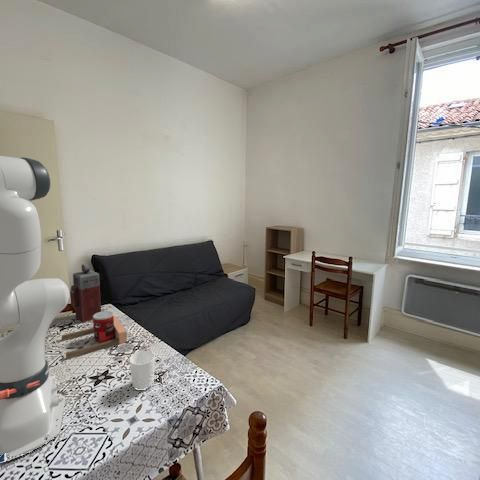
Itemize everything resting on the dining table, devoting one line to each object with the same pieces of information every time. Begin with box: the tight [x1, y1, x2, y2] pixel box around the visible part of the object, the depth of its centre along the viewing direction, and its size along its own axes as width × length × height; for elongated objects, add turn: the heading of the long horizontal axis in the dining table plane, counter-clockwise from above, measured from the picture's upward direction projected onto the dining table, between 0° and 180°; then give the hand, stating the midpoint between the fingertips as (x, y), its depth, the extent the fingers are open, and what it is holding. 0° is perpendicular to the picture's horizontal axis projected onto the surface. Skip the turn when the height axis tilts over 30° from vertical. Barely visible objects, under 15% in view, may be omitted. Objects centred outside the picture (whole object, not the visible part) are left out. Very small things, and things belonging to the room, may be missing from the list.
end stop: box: [113, 315, 128, 345], centre depth 122 cm, size 18×3×5 cm, turn 38°
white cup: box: [129, 350, 156, 389], centre depth 90 cm, size 8×8×10 cm
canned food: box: [92, 310, 115, 343], centre depth 118 cm, size 8×8×11 cm
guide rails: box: [61, 327, 120, 360], centre depth 115 cm, size 18×19×2 cm
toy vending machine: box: [69, 263, 102, 324], centre depth 135 cm, size 9×11×28 cm
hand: (19, 299), depth 98 cm, fingers closed
